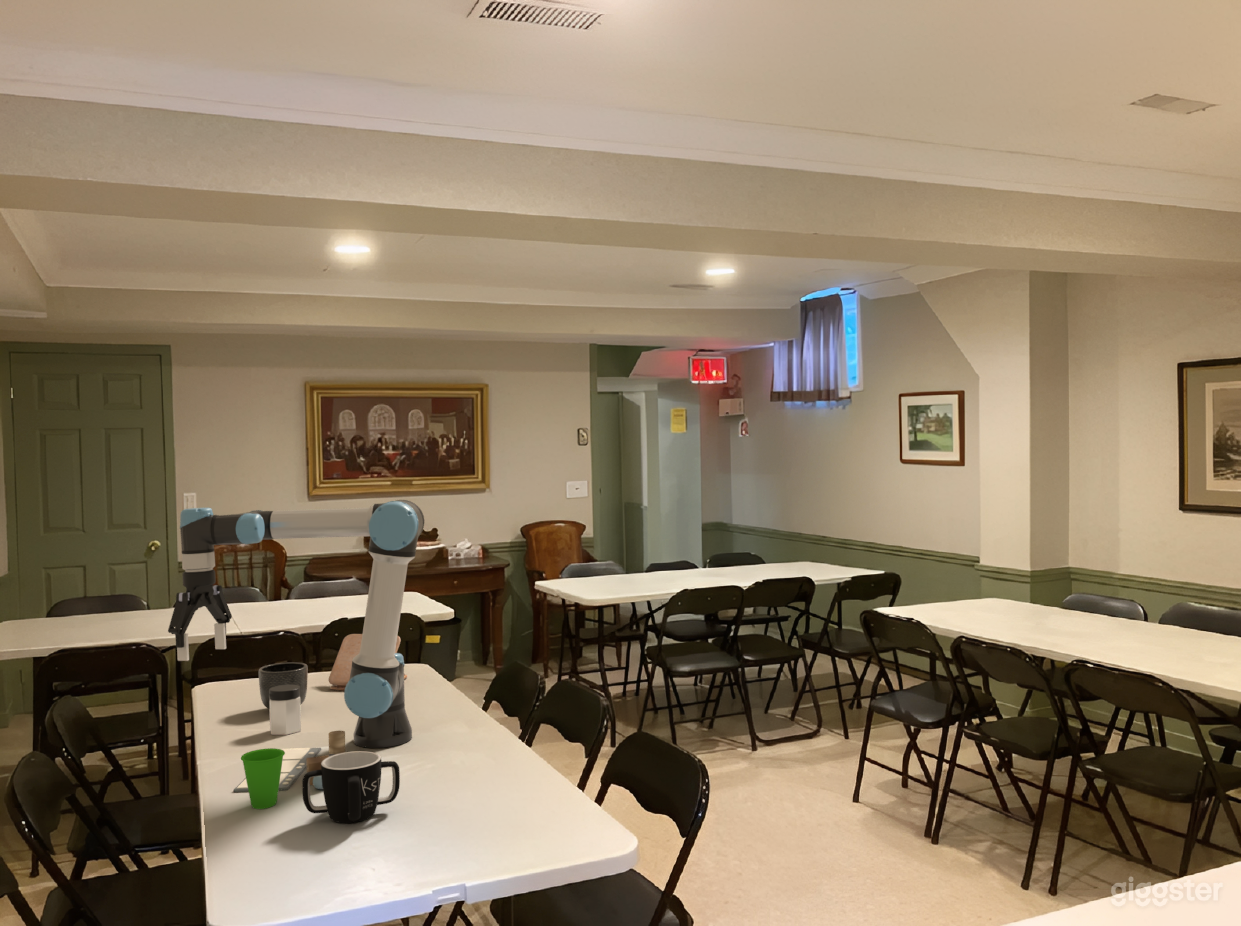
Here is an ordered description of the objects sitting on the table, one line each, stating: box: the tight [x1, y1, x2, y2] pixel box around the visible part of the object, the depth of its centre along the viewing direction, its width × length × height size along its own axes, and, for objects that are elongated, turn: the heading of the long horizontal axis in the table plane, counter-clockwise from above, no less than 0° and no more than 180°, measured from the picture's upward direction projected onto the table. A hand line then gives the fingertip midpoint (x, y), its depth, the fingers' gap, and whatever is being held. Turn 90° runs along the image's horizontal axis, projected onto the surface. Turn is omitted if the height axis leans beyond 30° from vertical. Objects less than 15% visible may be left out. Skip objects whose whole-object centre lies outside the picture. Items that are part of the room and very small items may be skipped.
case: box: [328, 633, 408, 691], centre depth 322 cm, size 20×21×16 cm
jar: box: [268, 685, 302, 736], centre depth 267 cm, size 9×8×12 cm
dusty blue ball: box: [312, 776, 323, 790], centre depth 219 cm, size 4×4×4 cm
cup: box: [240, 747, 285, 810], centre depth 210 cm, size 9×9×11 cm
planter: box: [258, 662, 309, 710], centre depth 290 cm, size 14×14×13 cm
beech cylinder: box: [328, 730, 346, 755], centre depth 243 cm, size 4×4×6 cm
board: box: [233, 747, 322, 793], centre depth 234 cm, size 12×30×1 cm, turn 3°
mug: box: [301, 750, 401, 824], centre depth 202 cm, size 16×16×12 cm
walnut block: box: [306, 754, 329, 786], centre depth 225 cm, size 5×5×5 cm
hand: (202, 654), depth 241 cm, fingers open, 13 cm apart
